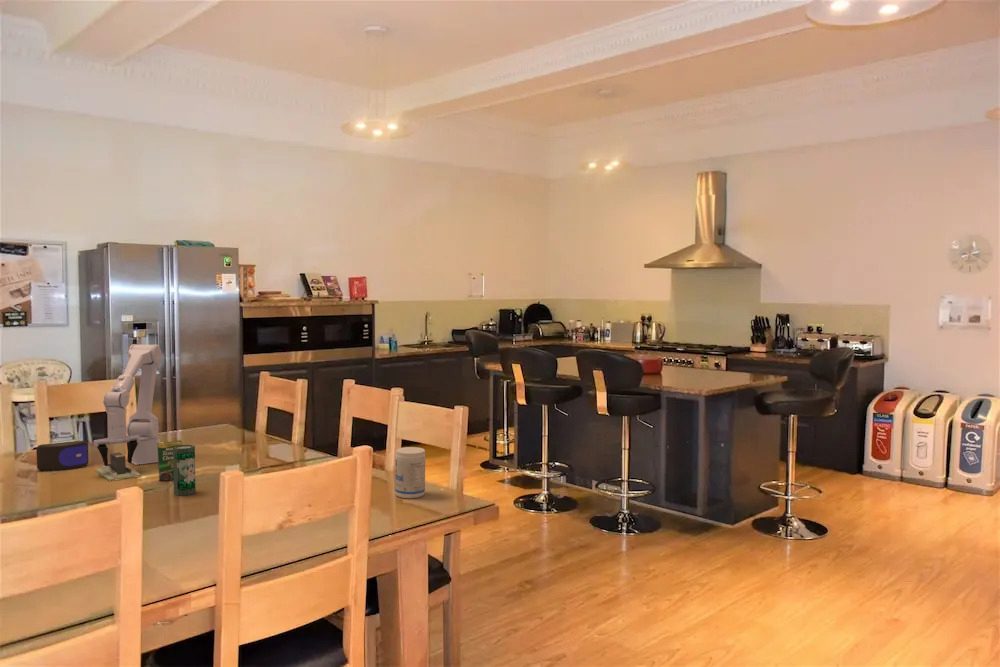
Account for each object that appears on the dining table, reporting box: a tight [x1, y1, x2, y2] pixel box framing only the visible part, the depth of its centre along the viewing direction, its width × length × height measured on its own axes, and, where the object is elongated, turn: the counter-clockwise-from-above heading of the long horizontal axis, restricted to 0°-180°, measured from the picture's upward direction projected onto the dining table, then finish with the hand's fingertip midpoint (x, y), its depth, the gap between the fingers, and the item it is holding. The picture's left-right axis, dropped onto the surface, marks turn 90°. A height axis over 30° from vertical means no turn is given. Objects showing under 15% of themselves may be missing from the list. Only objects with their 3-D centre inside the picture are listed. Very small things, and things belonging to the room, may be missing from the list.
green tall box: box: [173, 444, 197, 497], centre depth 246 cm, size 6×6×15 cm
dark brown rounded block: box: [35, 440, 89, 472], centre depth 275 cm, size 16×5×9 cm, turn 123°
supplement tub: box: [394, 446, 426, 499], centre depth 246 cm, size 10×10×15 cm
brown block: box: [109, 451, 127, 475], centre depth 269 cm, size 3×8×6 cm, turn 40°
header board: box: [95, 462, 142, 481], centre depth 269 cm, size 10×18×2 cm, turn 40°
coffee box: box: [157, 439, 183, 482], centre depth 262 cm, size 8×3×13 cm, turn 115°
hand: (117, 463), depth 269 cm, fingers open, 7 cm apart
